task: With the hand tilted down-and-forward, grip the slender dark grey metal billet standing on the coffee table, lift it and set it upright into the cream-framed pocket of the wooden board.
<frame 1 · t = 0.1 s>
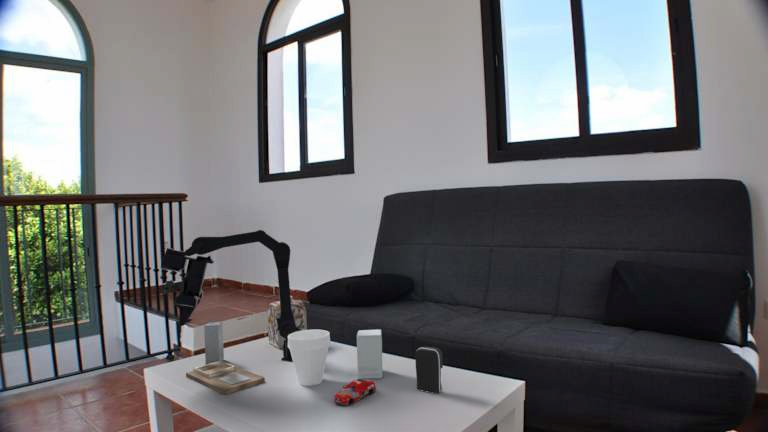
hand: (183, 322, 148), 15 cm above the table, tool pointing down, fingers open, 9 cm apart
supplement box: (370, 375, 138), on the table
cup: (310, 382, 134), on the table
billet: (214, 362, 156), on the table
decorative jar: (287, 344, 177), on the table
wooden board: (224, 379, 139), on the table
battery charger: (430, 390, 124), on the table
race car: (355, 398, 121), on the table
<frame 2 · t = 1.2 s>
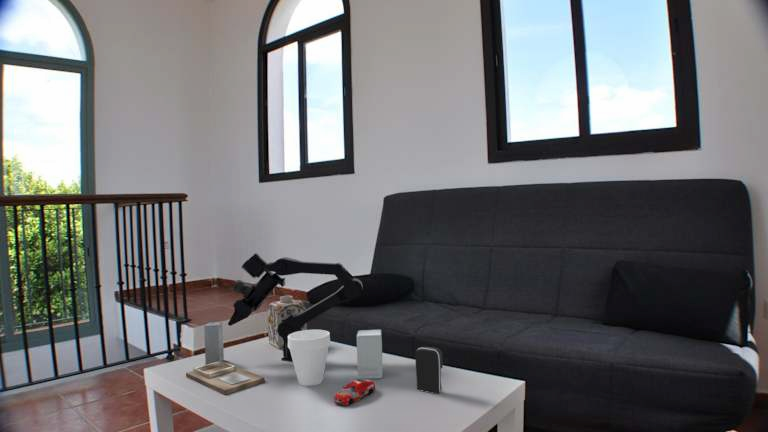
hand: (233, 321, 157), 13 cm above the table, tool tilted 45°, fingers open, 9 cm apart
nothing on the table moved.
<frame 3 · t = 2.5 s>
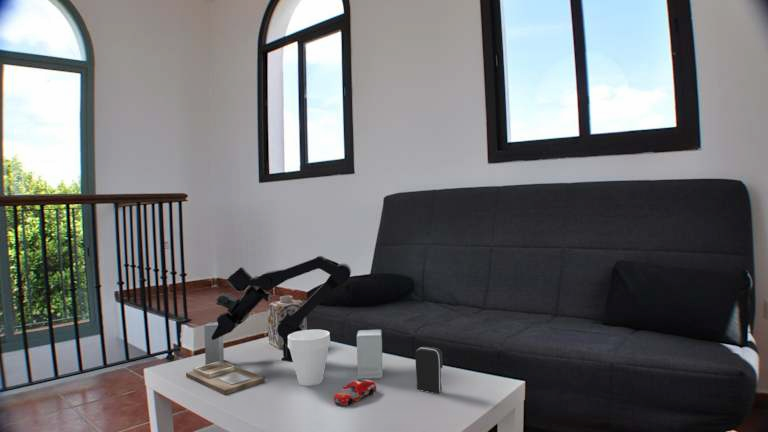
hand: (216, 335, 157), 9 cm above the table, tool tilted 45°, fingers open, 9 cm apart
nothing on the table moved.
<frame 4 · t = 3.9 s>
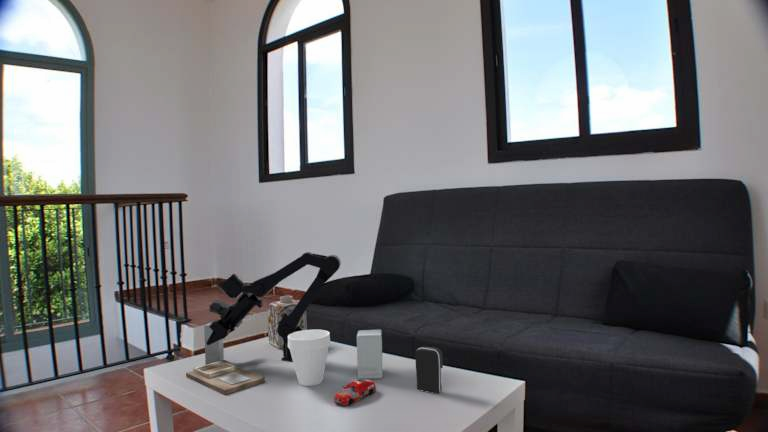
hand: (209, 342, 156), 7 cm above the table, tool tilted 45°, fingers closed on billet, 5 cm apart
billet: (214, 362, 156), on the table, touching gripper
everything else where it was.
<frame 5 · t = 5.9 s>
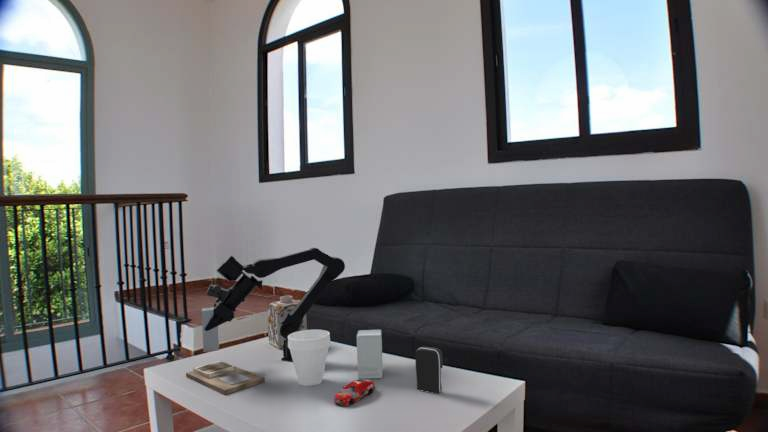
hand: (205, 328, 148), 13 cm above the table, tool tilted 45°, fingers closed on billet, 5 cm apart
billet: (211, 349, 149), point 7 cm above the table, touching gripper
everything else where it was.
when the fingers open (9 cm above the table, at t = 7.8 s): billet drops 1 cm, resting on wooden board.
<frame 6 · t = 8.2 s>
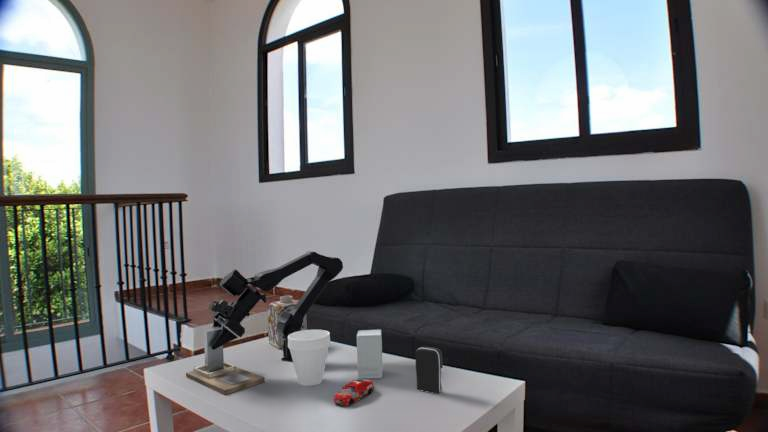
hand: (209, 345, 142), 9 cm above the table, tool tilted 45°, fingers open, 8 cm apart
billet: (214, 371, 143), point 1 cm above the table, touching wooden board
everything else where it was.
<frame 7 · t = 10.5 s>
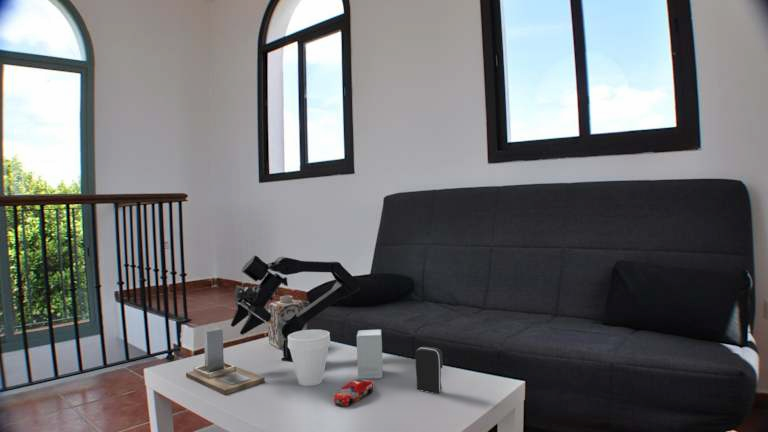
hand: (236, 330, 148), 12 cm above the table, tool tilted 40°, fingers open, 9 cm apart
nothing on the table moved.
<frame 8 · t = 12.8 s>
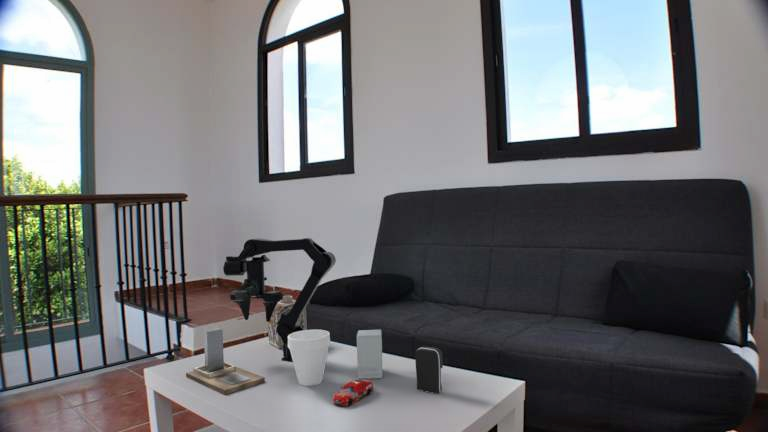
hand: (257, 320, 159), 13 cm above the table, tool pointing down, fingers open, 9 cm apart
nothing on the table moved.
at the end: billet 0.0 cm from the target spot on the wooden board, point 1.2 cm above the wooden board's base; billet tilted 0°; the gripper is holding nothing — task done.
